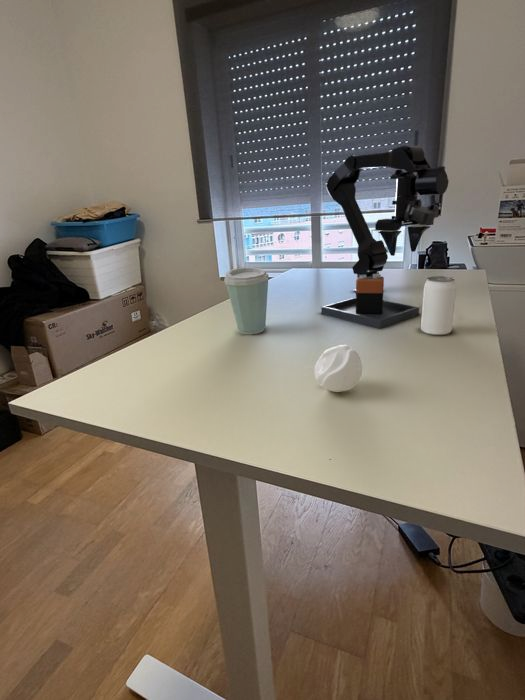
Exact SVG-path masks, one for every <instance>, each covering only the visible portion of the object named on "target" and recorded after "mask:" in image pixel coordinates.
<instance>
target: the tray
mask: <svg viewBox="0 0 525 700" xmlns="http://www.w3.org/2000/svg"><path fill="white" fill-rule="evenodd" d="M320 307H321V308H320V309H321V314H322V315H324V316H325V315H326V316H329V317H332V318H337V319H341V320H345V321H348V322H352V323H356V324H359V325H360V324H361V325H365V326H368V327H371V328H376V329H379V330H380V329H382V328H385V327H389V326H391V325H395V324H396V323H400V322H403V321H405V320H408V319H410V318H413V317H416V316H418V315H419V314H420V307H419V306H415V305H409V304H403V303H399V302H393V301H388V300H384V299H383V310H382V314H357V313H356V296H355V297H351V298H347V299H344V300H340V301H336V302H333V303H330V304H326V305H323V306H320Z"/></svg>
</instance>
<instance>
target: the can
mask: <svg viewBox="0 0 525 700" xmlns="http://www.w3.org/2000/svg"><path fill="white" fill-rule="evenodd" d="M455 280H456V278H455V277H452V276H445V275H440V276H439V275H435V276H429V277H427V278H426V281H425V283H424V285H423V295H422V305H421V306H422V308H421V318H420V319H421V322H420V330H421V332H422V333H424V334H426V335H431V336H446V335H449V334H450V333H451V332H452V329H453V321H454V312H455V304H456V295H457V294H456V293H457V285H456V282H455Z"/></svg>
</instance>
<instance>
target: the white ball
mask: <svg viewBox="0 0 525 700" xmlns="http://www.w3.org/2000/svg"><path fill="white" fill-rule="evenodd" d="M313 369H314V378H315V380H316V381H317V382H318V384H319V385H320V386H321V388H324V389H325V390H327V391H330V392H333V393H339V392H341V393H342V392H347V391H350V390H351V389H353V388H354V387H355V386H356V385H357V384H358V383H359V381H360V379H361V377H362V375H363V363H362V359H361V356H360V355H359V353H358V352H357V350H356V349H355V348H353V347H351V346H350V345H347V344H340V345H335V346H332V347H330V348H328V349H326V350H324V351H323V352H322V354H321V355H320V357H319V358H318V359H317V361H316V363H315V365H314V367H313Z"/></svg>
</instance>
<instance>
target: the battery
mask: <svg viewBox="0 0 525 700" xmlns="http://www.w3.org/2000/svg"><path fill="white" fill-rule="evenodd" d="M381 275H382V274H381V273H379V274H373V276H374V277H366V275H360V277H358V278H357V277H356V280H355V289H356V292H355V297H356V313H357V314H382V310H383V300H384V287H385V286H384V285H385V277H384V276H381Z"/></svg>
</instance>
